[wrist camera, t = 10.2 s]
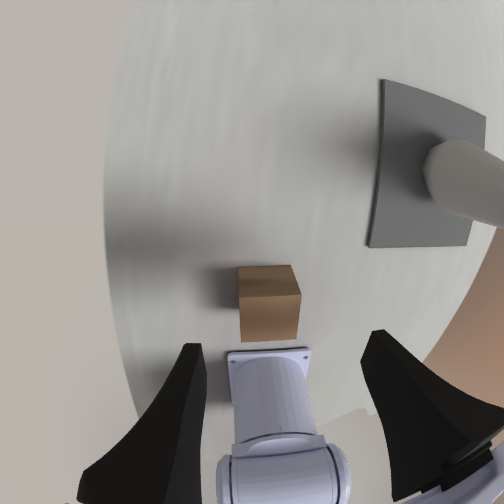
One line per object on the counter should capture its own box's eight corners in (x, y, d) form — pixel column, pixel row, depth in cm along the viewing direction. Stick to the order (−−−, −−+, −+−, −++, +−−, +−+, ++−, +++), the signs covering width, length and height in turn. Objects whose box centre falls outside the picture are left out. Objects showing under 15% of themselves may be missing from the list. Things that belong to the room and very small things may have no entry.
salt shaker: (422, 214, 19) (538, 305, 7) (404, 149, 17) (555, 208, 5) (466, 187, 18) (577, 252, 6) (452, 126, 16) (585, 165, 4)
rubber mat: (463, 244, 21) (466, 246, 21) (367, 246, 20) (369, 248, 20) (483, 116, 15) (485, 116, 15) (382, 79, 15) (384, 79, 14)
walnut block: (287, 306, 23) (296, 338, 19) (239, 308, 22) (241, 342, 19) (290, 264, 21) (301, 294, 17) (237, 266, 21) (238, 297, 17)
